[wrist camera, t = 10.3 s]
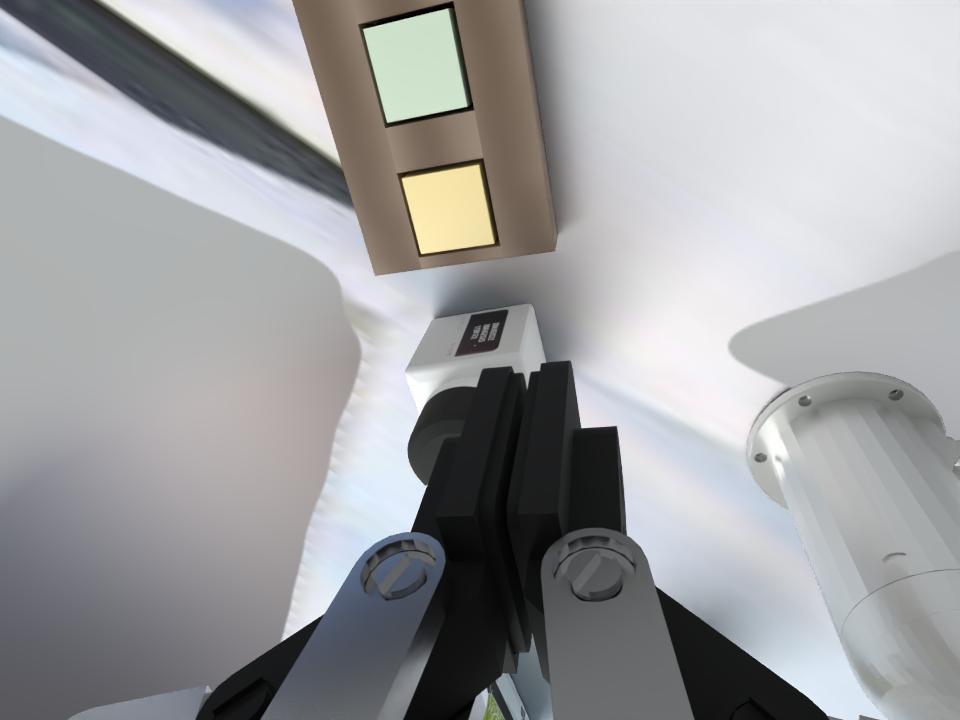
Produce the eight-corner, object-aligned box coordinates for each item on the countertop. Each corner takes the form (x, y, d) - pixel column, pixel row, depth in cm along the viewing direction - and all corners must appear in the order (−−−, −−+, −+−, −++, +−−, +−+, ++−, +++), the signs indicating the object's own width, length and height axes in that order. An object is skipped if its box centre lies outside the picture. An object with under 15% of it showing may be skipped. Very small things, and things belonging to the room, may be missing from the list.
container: (430, 317, 44) (375, 420, 33) (533, 300, 42) (510, 403, 31) (458, 404, 48) (416, 523, 36) (554, 392, 46) (540, 514, 34)
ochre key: (486, 154, 37) (478, 164, 35) (500, 228, 39) (494, 243, 37) (414, 167, 38) (401, 178, 36) (432, 238, 41) (421, 254, 38)
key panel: (491, -225, 29) (481, -248, 26) (557, 235, 39) (554, 251, 37) (271, -150, 32) (242, -164, 29) (388, 259, 42) (375, 275, 40)
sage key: (459, 8, 34) (448, 8, 31) (476, 99, 36) (467, 106, 33) (380, 28, 35) (362, 29, 32) (401, 115, 37) (387, 122, 34)
